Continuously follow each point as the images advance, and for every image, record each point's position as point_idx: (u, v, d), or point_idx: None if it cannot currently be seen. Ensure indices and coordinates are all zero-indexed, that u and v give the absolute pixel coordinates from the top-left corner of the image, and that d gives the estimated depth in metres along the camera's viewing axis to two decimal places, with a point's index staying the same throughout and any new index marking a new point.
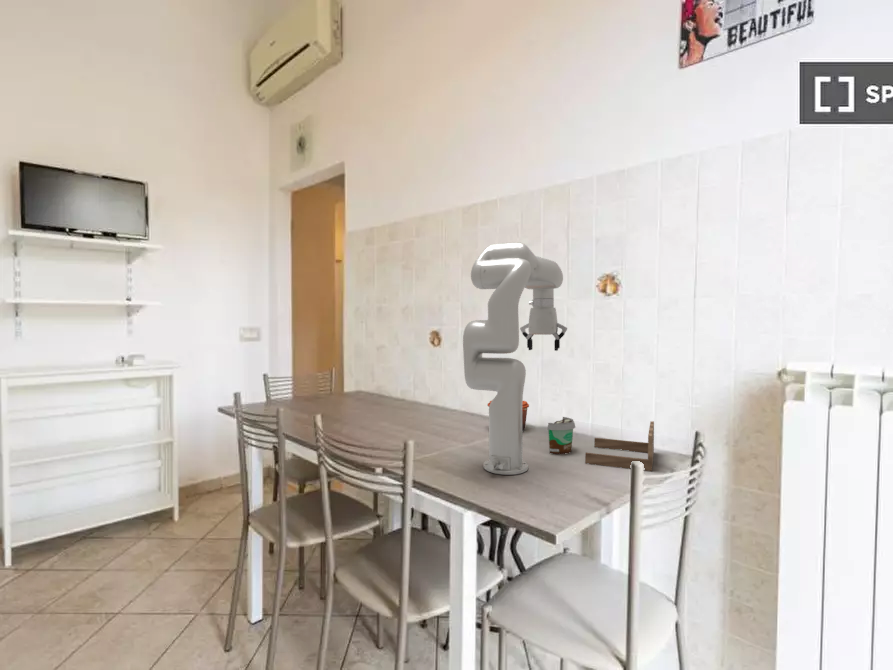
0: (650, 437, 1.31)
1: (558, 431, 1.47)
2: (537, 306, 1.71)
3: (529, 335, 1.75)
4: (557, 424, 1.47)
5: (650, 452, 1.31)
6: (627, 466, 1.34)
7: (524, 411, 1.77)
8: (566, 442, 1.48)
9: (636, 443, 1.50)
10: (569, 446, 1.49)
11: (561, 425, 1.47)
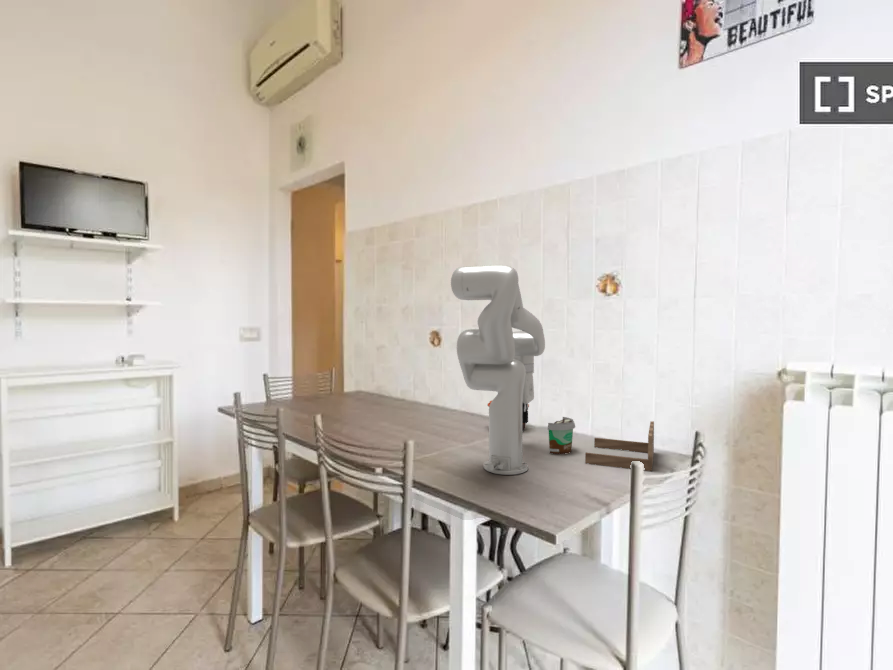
0: (650, 437, 1.31)
1: (558, 431, 1.47)
2: (531, 372, 1.54)
3: (525, 406, 1.55)
4: (557, 424, 1.47)
5: (650, 452, 1.31)
6: (627, 466, 1.34)
7: None
8: (566, 442, 1.48)
9: (636, 443, 1.50)
10: (569, 446, 1.49)
11: (561, 425, 1.47)
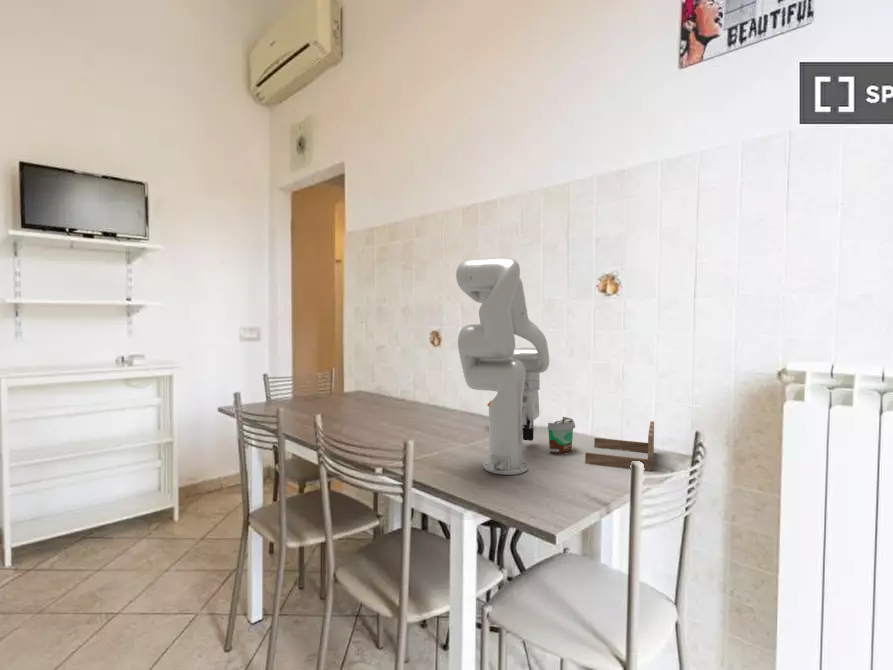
0: (650, 437, 1.31)
1: (558, 431, 1.47)
2: (537, 388, 1.53)
3: (531, 423, 1.54)
4: (557, 424, 1.47)
5: (650, 452, 1.31)
6: (627, 466, 1.34)
7: None
8: (566, 442, 1.48)
9: (636, 443, 1.50)
10: (569, 446, 1.49)
11: (561, 425, 1.47)
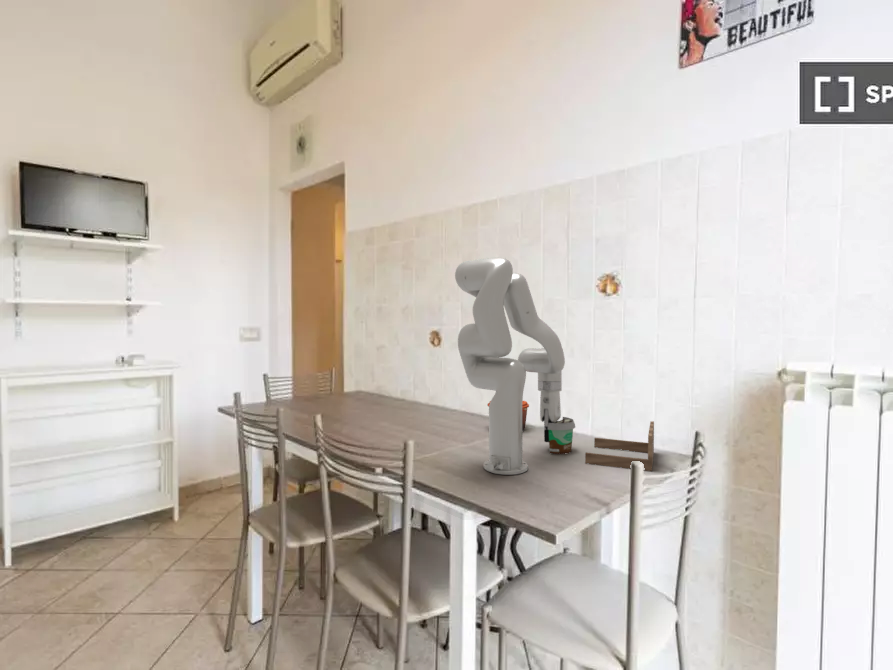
0: (650, 437, 1.31)
1: (558, 431, 1.47)
2: (559, 389, 1.50)
3: None
4: (557, 424, 1.47)
5: (650, 452, 1.31)
6: (627, 466, 1.34)
7: (524, 411, 1.77)
8: (566, 442, 1.48)
9: (636, 443, 1.50)
10: (569, 446, 1.49)
11: (561, 425, 1.47)
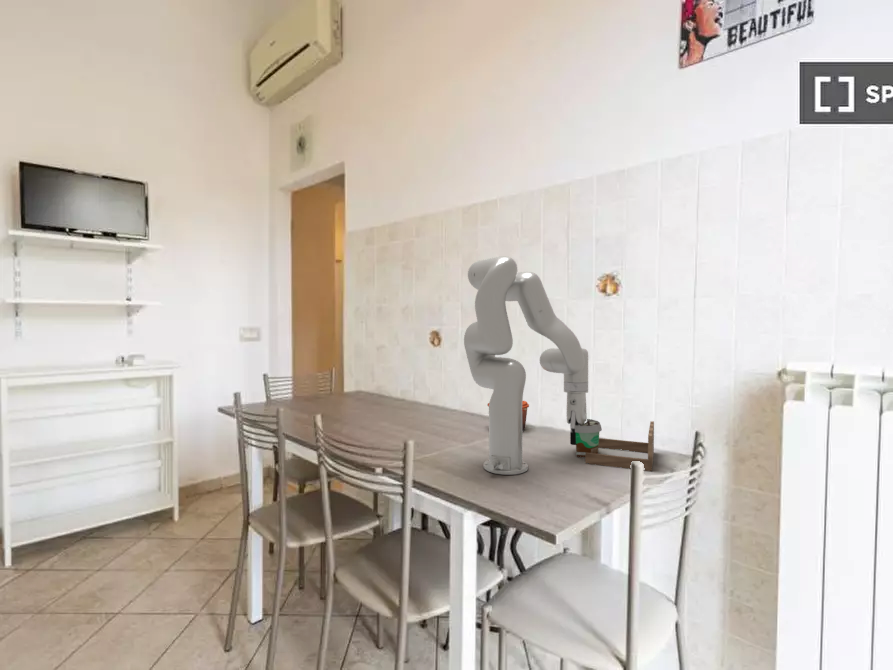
0: (650, 437, 1.31)
1: (586, 434, 1.43)
2: (586, 391, 1.46)
3: None
4: (585, 427, 1.43)
5: (650, 452, 1.31)
6: (627, 466, 1.34)
7: (524, 411, 1.77)
8: (593, 445, 1.44)
9: (636, 443, 1.50)
10: (596, 449, 1.45)
11: (589, 428, 1.43)
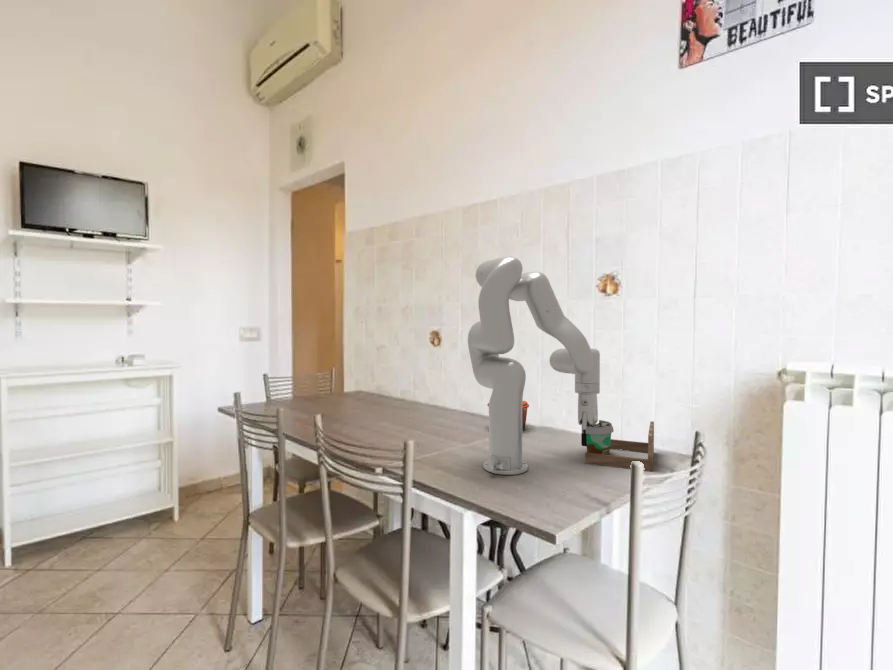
0: (650, 437, 1.31)
1: (596, 435, 1.42)
2: (598, 392, 1.45)
3: None
4: (595, 428, 1.42)
5: (650, 452, 1.31)
6: (627, 466, 1.34)
7: (524, 411, 1.77)
8: (605, 446, 1.43)
9: (636, 443, 1.50)
10: (607, 451, 1.44)
11: (600, 429, 1.41)
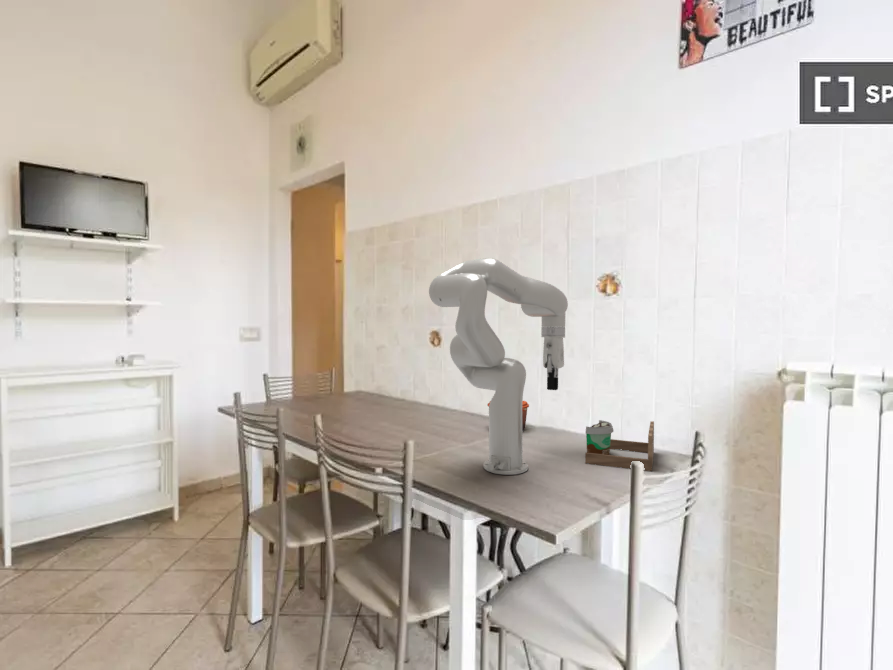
0: (650, 437, 1.31)
1: (596, 435, 1.42)
2: (563, 336, 1.49)
3: (556, 372, 1.50)
4: (595, 428, 1.42)
5: (650, 452, 1.31)
6: (627, 466, 1.34)
7: (524, 411, 1.77)
8: (605, 447, 1.43)
9: (636, 443, 1.50)
10: (607, 451, 1.44)
11: (600, 429, 1.41)
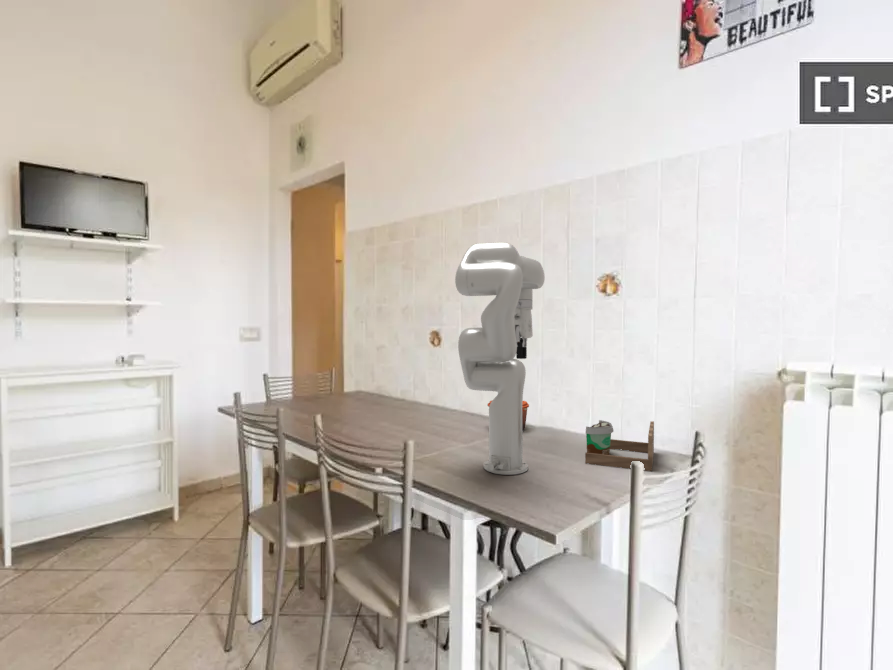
0: (650, 437, 1.31)
1: (596, 435, 1.42)
2: (530, 308, 1.59)
3: (524, 342, 1.60)
4: (595, 428, 1.42)
5: (650, 452, 1.31)
6: (627, 466, 1.34)
7: (524, 411, 1.77)
8: (605, 447, 1.43)
9: (636, 443, 1.50)
10: (607, 451, 1.44)
11: (600, 429, 1.41)
